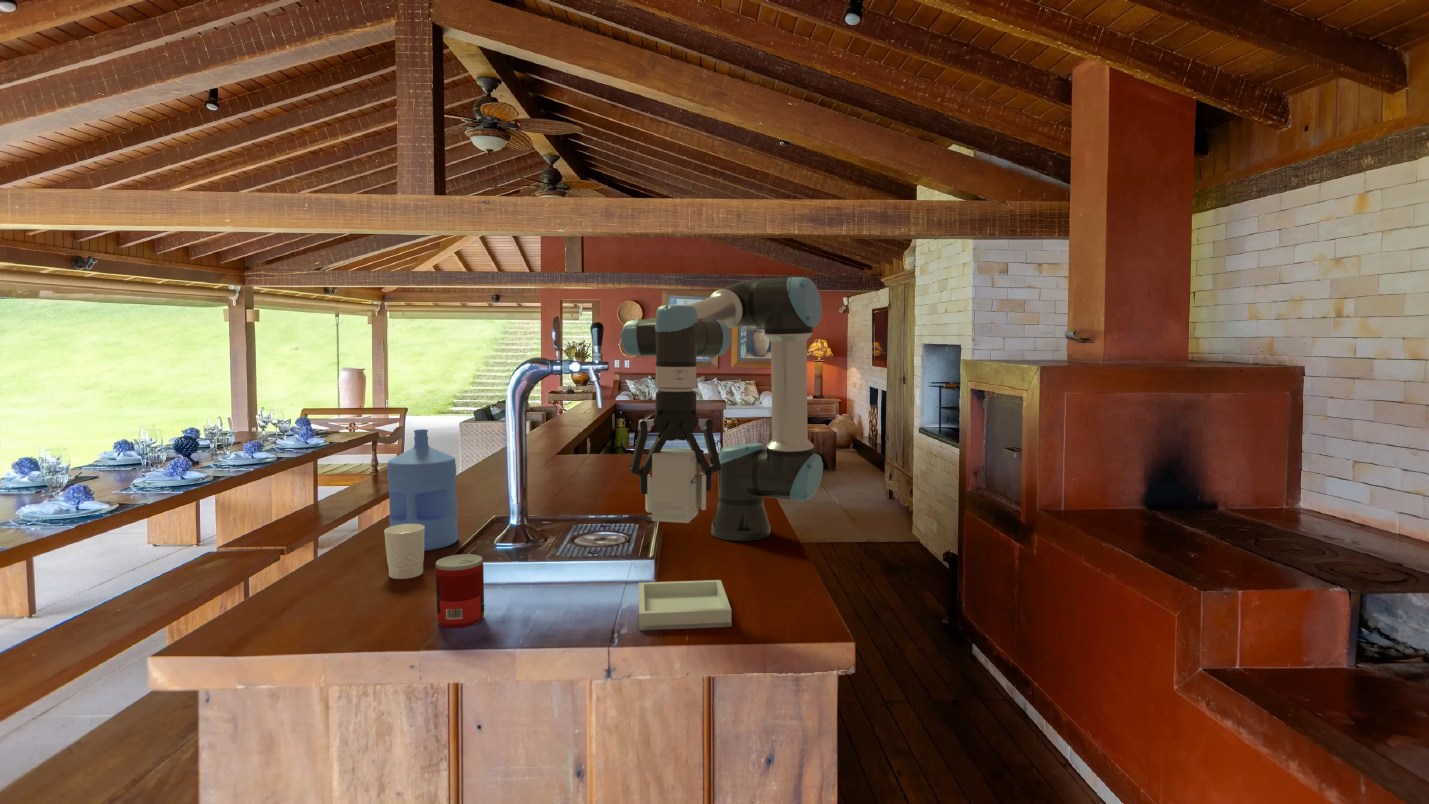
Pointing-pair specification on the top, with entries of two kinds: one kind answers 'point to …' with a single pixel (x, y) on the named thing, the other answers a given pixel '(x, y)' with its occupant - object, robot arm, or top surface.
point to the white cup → (405, 550)
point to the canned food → (460, 590)
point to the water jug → (424, 492)
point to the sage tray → (683, 605)
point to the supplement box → (674, 485)
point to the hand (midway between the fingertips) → (675, 509)
